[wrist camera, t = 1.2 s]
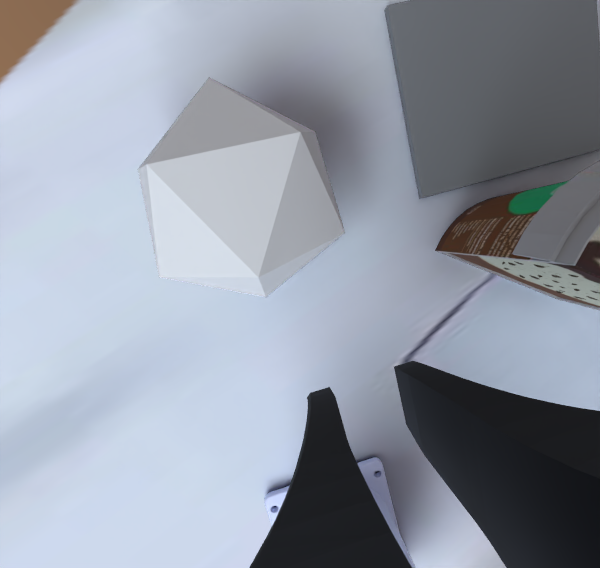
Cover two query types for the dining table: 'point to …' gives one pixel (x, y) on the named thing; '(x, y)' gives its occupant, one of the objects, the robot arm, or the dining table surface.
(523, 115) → the mat
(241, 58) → the dining table surface
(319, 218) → the die
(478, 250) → the food container
